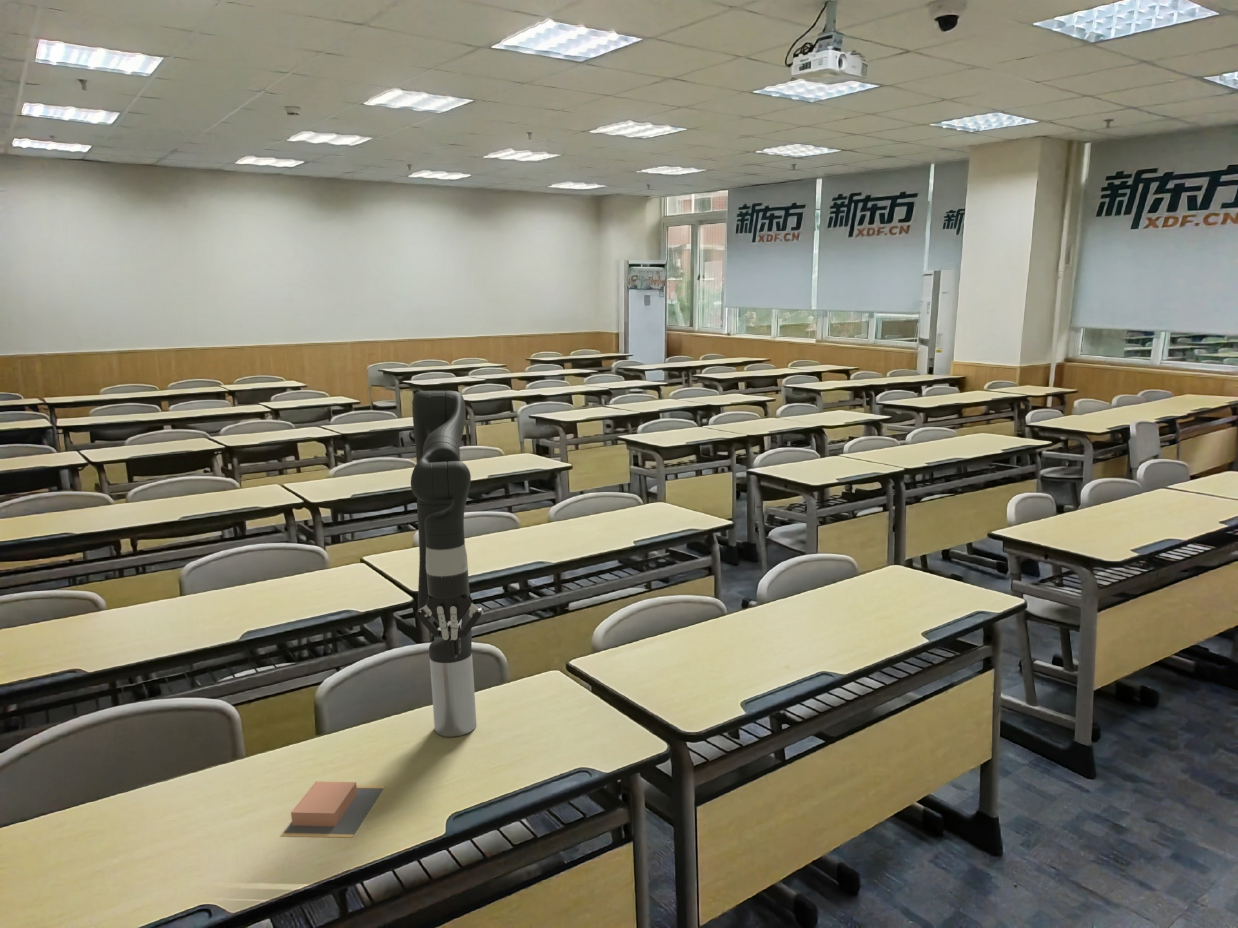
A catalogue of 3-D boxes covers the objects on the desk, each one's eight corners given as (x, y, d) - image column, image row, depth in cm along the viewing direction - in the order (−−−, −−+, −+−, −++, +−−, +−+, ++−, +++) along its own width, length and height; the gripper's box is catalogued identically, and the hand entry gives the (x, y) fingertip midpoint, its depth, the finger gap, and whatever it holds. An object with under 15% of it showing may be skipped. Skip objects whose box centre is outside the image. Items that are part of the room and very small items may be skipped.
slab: (357, 794, 156) (316, 793, 157) (356, 782, 156) (315, 781, 156) (335, 826, 146) (292, 825, 147) (334, 813, 146) (291, 812, 146)
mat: (320, 787, 160) (320, 784, 160) (385, 788, 159) (385, 785, 159) (281, 838, 144) (280, 835, 144) (352, 840, 143) (352, 837, 143)
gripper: (487, 562, 154) (492, 648, 157) (418, 562, 155) (425, 648, 158) (477, 574, 147) (482, 665, 150) (405, 574, 148) (412, 664, 151)
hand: (453, 656), depth 154 cm, fingers closed
